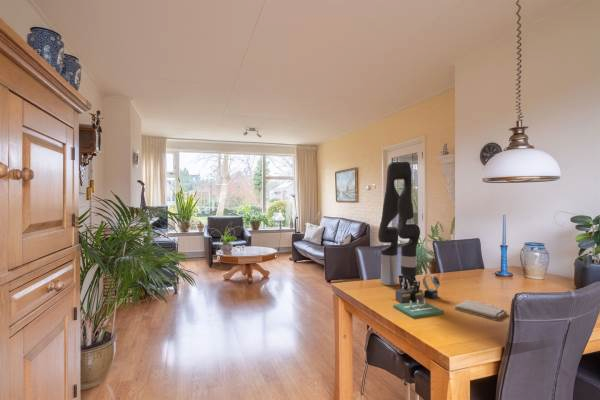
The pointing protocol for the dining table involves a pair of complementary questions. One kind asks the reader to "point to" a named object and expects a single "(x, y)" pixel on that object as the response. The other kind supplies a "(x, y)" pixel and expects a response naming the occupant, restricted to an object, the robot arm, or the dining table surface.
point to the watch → (430, 292)
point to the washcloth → (481, 309)
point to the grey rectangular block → (408, 295)
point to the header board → (418, 309)
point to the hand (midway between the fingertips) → (409, 299)
